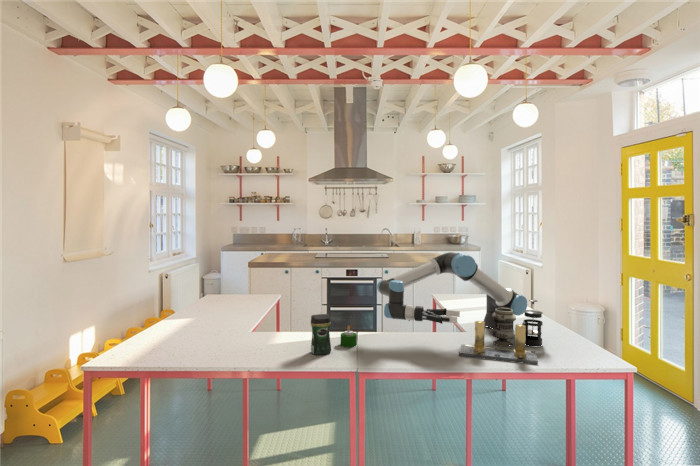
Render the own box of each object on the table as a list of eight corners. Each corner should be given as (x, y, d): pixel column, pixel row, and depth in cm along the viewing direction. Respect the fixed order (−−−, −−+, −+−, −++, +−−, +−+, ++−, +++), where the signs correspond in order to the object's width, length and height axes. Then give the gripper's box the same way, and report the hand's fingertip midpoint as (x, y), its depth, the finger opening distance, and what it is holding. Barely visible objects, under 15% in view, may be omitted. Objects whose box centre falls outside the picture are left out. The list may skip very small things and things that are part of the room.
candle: (343, 341, 218) (343, 322, 218) (358, 343, 215) (358, 324, 215) (338, 346, 210) (338, 326, 210) (353, 348, 207) (353, 328, 207)
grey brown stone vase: (504, 348, 207) (504, 312, 206) (485, 342, 217) (486, 308, 217) (520, 345, 212) (521, 310, 212) (502, 339, 223) (502, 305, 222)
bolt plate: (458, 355, 196) (459, 324, 195) (461, 347, 209) (461, 317, 208) (537, 364, 184) (538, 330, 184) (535, 354, 197) (535, 323, 197)
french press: (532, 340, 220) (533, 297, 219) (547, 345, 211) (548, 300, 210) (516, 343, 215) (516, 299, 214) (530, 348, 207) (531, 302, 206)
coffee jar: (328, 349, 205) (328, 312, 205) (332, 354, 198) (332, 315, 197) (309, 351, 203) (309, 313, 202) (312, 356, 195) (312, 317, 194)
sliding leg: (473, 353, 194) (473, 324, 194) (474, 348, 202) (474, 320, 202) (484, 354, 193) (484, 325, 192) (485, 349, 201) (485, 321, 200)
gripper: (419, 315, 221) (460, 319, 214) (409, 326, 197) (455, 331, 190) (419, 301, 221) (460, 304, 213) (410, 310, 197) (455, 314, 190)
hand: (458, 317), depth 202 cm, fingers open, 13 cm apart
